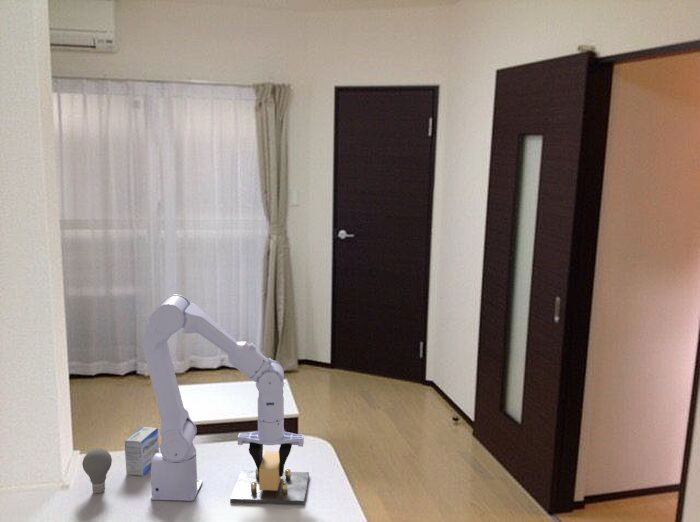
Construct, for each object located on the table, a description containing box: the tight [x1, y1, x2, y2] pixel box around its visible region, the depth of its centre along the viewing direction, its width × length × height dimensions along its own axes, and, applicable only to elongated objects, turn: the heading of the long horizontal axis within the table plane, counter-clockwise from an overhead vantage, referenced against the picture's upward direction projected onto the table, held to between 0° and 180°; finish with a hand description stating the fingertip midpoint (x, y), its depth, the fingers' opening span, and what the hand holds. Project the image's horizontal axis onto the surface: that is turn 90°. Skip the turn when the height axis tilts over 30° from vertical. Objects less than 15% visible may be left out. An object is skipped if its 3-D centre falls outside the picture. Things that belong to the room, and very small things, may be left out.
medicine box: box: [124, 426, 160, 477], centre depth 148 cm, size 8×4×9 cm, turn 168°
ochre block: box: [259, 450, 281, 490], centre depth 139 cm, size 4×8×5 cm, turn 179°
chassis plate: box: [229, 468, 310, 506], centre depth 140 cm, size 16×12×3 cm
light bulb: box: [82, 447, 113, 494], centre depth 137 cm, size 6×6×10 cm
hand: (271, 473), depth 140 cm, fingers closed on ochre block, 4 cm apart
